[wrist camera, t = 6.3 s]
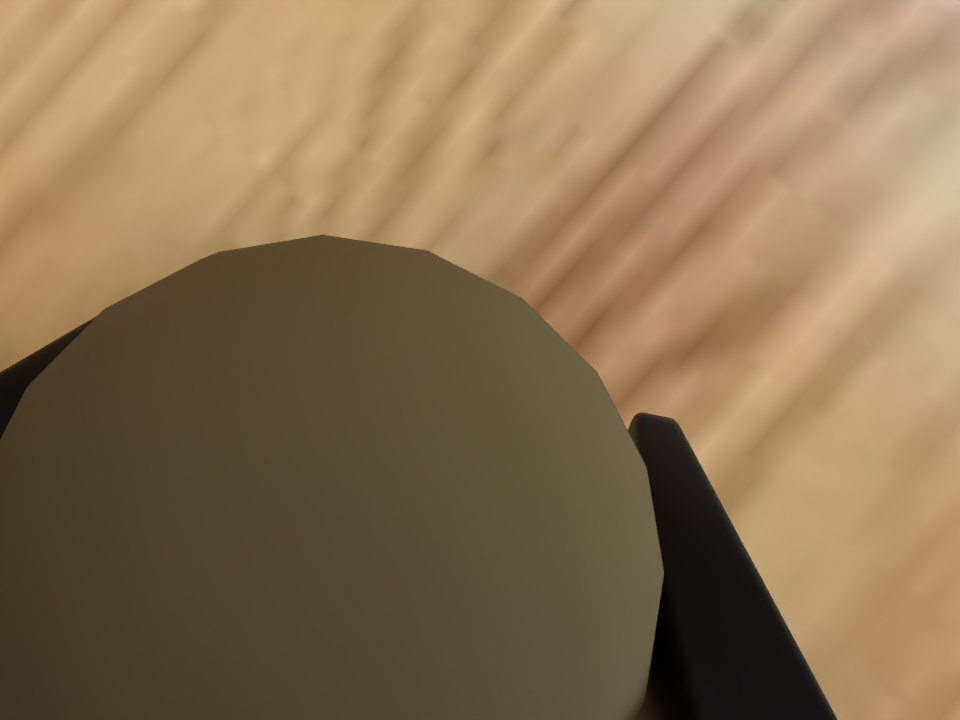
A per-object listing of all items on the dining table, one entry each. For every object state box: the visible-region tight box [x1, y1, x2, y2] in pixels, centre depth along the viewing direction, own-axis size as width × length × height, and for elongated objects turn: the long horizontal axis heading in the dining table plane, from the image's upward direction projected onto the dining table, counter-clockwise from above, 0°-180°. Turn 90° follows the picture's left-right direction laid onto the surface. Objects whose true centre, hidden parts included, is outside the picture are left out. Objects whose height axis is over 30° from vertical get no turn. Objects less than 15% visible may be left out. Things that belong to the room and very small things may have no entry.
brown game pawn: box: [0, 235, 664, 720], centre depth 11 cm, size 6×6×11 cm
